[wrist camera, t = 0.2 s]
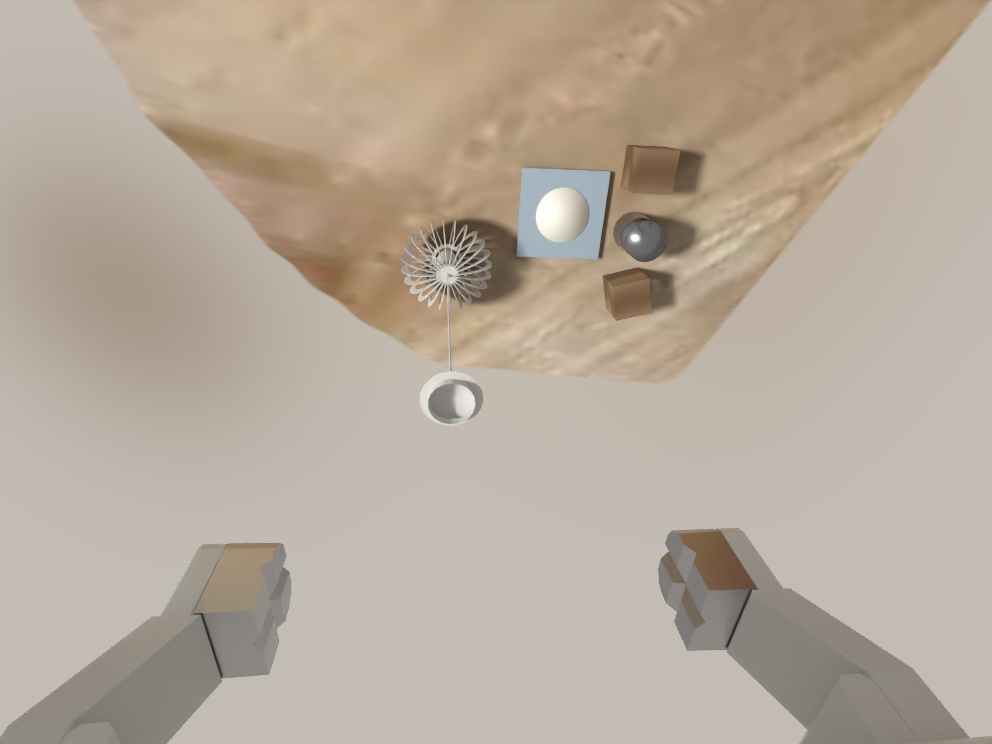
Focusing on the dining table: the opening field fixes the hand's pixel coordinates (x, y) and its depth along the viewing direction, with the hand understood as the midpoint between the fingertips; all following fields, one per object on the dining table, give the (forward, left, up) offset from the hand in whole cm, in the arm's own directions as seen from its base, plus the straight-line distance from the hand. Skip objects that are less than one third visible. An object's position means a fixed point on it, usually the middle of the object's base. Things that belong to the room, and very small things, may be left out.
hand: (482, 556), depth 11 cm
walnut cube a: (-3, +20, -48) cm, 52 cm away
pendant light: (+7, 0, -48) cm, 48 cm away
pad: (+2, +12, -47) cm, 49 cm away
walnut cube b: (+10, +20, -48) cm, 52 cm away
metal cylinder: (+3, +20, -47) cm, 51 cm away
